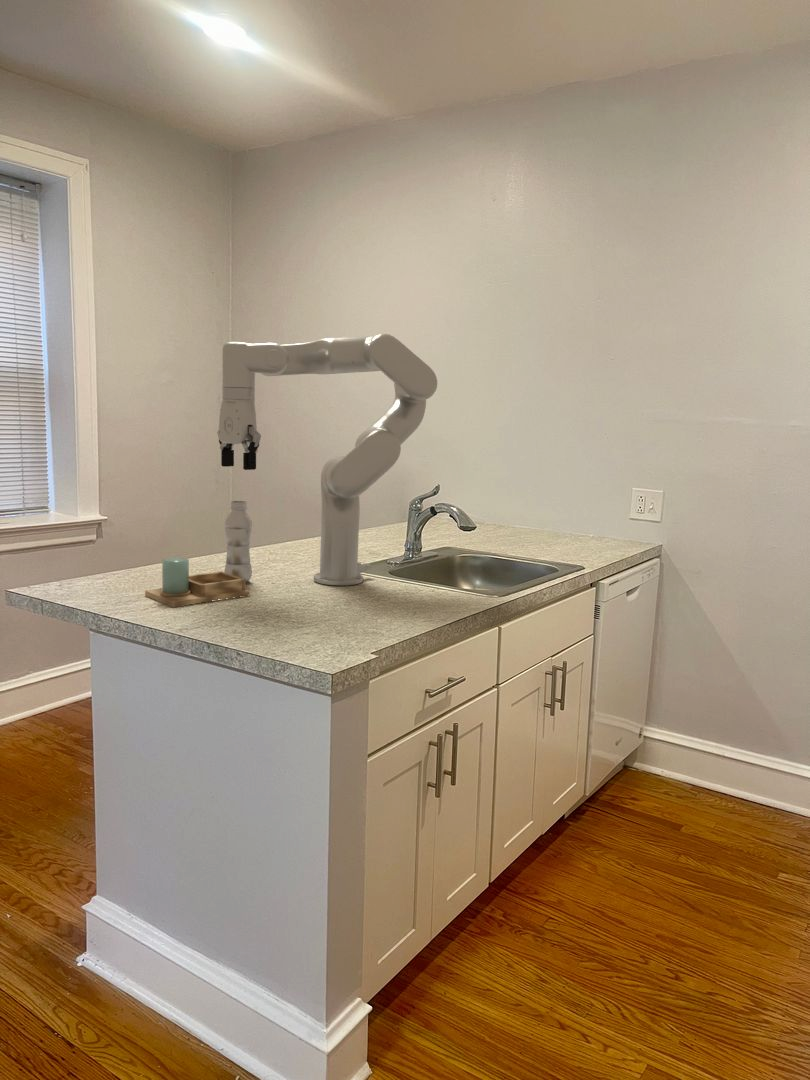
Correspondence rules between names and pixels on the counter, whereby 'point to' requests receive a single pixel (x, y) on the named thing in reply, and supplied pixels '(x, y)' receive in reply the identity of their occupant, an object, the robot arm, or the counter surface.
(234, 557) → the plastic bottle
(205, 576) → the oak caddy
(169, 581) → the sage pillar candle
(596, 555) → the counter surface
